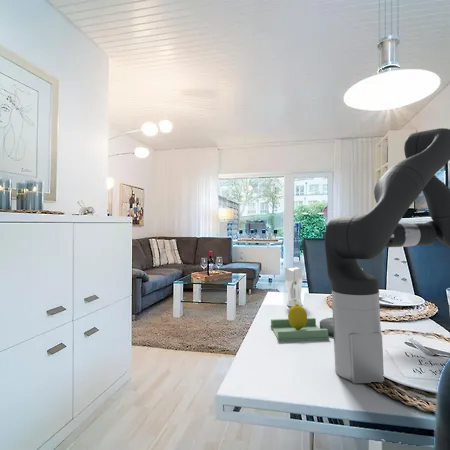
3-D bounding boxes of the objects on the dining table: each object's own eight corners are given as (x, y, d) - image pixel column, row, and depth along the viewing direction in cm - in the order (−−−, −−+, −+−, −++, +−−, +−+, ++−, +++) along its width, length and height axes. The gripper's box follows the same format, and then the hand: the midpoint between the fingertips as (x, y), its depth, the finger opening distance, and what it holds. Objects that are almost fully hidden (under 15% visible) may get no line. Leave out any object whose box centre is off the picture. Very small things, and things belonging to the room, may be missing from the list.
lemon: (308, 334, 88) (307, 306, 88) (288, 333, 89) (287, 306, 89) (307, 328, 93) (305, 301, 93) (288, 327, 94) (287, 301, 94)
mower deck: (379, 337, 84) (379, 330, 84) (329, 339, 84) (329, 332, 84) (357, 322, 98) (356, 316, 98) (313, 324, 98) (313, 318, 98)
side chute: (329, 339, 84) (328, 330, 84) (278, 341, 84) (278, 332, 84) (314, 324, 97) (313, 317, 98) (270, 326, 97) (270, 318, 97)
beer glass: (282, 304, 126) (281, 268, 126) (297, 302, 128) (296, 267, 128) (291, 308, 119) (289, 270, 120) (306, 306, 121) (305, 268, 122)
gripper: (385, 223, 103) (338, 225, 102) (414, 222, 89) (360, 224, 88) (386, 246, 103) (339, 247, 102) (415, 247, 88) (361, 250, 87)
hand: (349, 236), depth 95 cm, fingers open, 8 cm apart
